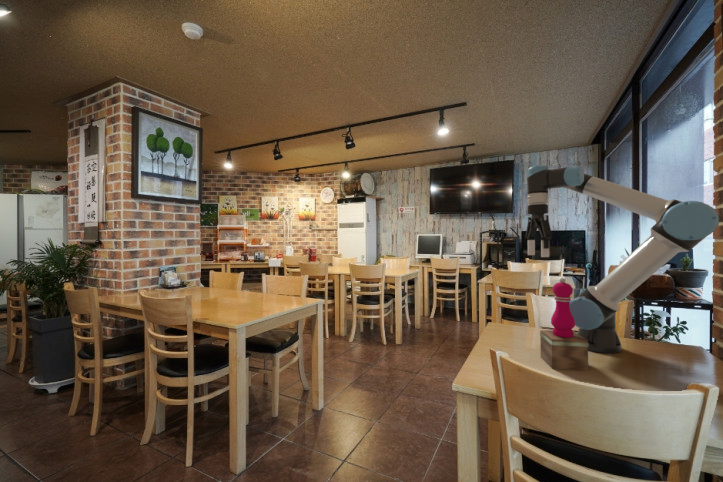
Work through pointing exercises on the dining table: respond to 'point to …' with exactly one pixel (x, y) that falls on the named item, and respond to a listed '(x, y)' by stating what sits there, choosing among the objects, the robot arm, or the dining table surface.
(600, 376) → the dining table surface
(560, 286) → the pepper mill
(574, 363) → the walnut box
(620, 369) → the dining table surface
